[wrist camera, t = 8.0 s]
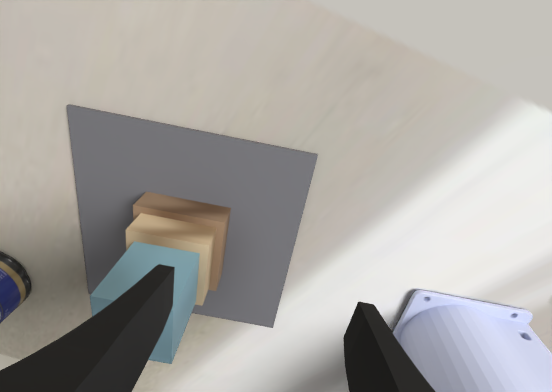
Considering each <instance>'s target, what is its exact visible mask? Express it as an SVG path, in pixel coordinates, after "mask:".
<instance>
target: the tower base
mask: <svg viewBox="0 0 552 392" xmlns="http://www.w3.org/2000/svg"><path fill="white" fill-rule="evenodd" d="M230 212H231V208H229V207H223V206H218V205H213V204H208V203H203V202H198V201H192V200H187V199H182V198H177V197H172V196H167V195H162V194H156V193H151V192H146V193H145V194H144V195H143V196H142V197H141V198H140V199H139V200H138V201H137V202H136V203H135V204H134V205H133V221H134V220H135V219H136V218H137V217H138V216H139V215H140V213H143V214H148V215H153V216H158V217H163V218H169V219H174V220H179V221H184V222H189V223H195V224H200V225H205V226H210V227H215V228H217V229H216V238H215V246H214V255H213V263H212V271H211V280H210V286H209V289H208V290H212V291H216V290H217V287H218V284H219V281H220V278H221V275H222V269H223V262H224V255H225V248H226V240H227V233H228V226H229V219H230Z"/></svg>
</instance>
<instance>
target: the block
mask: <svg viewBox="0 0 552 392" xmlns="http://www.w3.org/2000/svg"><path fill="white" fill-rule="evenodd" d="M199 257H200V253H196V252H190V251H185V250H179V249H173V248H168V247H162V246H157V245H151V244H146V243H140V242H135V241H134V242H133V244H132V245H131V246H130V247H129V249H128V250H127V251H126V252H125V253H124V255H123V256H122V257H121V258H120V260H119V261H118V262H117V263H116V264H115V266H114V267H113V268H112V269H111V271H110V272H109V273H108V274H107V276H106V277H105V278H104V279H103V280H102V282H101V283H100V284H99V285H98V287H97V288H96V289H95V290H94V291H93V293H92V294H91V295H90V301H91V309H92V317H93V316H94V315H95V314H97V313H98V312H100V311H101V310H102V309H104V308H105V307H107V306H108V305H109V304H111V303H112V302H113V301H114V300H116V299H117V298H118V297H120V296H121V295H122V294H123V293H125V292H126V291H127V290H128V289H130V288H131V287H132V286H133V285H134V284H136V283H137V282H138V281H139V280H140V279H142V278H143V277H144V276H145V275H146V274H147V273H148V272H150V271H151V270H152V269H153V268H154V267H155V266H157V265H158V264H161V265H167V266H172V267H175V272H174V292H173V307H172V309H171V312H170V315H169V317H168V320H167V322H166V325H165V327H164V330H163V332H162V334H161V336H160V338H159V340H158V342H157V344H156V346H155V348H154V350H153V352H152V353H151V355H150V357H149V359H148V360H152V361H158V362H163V363H169V364H172V361H173V359H174V356H175V354H176V351H177V348H178V346H179V343H180V341H181V338H182V336H183V333H184V331H185V328H186V325H187V323H188V320H189V318H190V315H191V313H192V310H193V308H194V305H195V303H196V295H197V283H198V270H199Z"/></svg>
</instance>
